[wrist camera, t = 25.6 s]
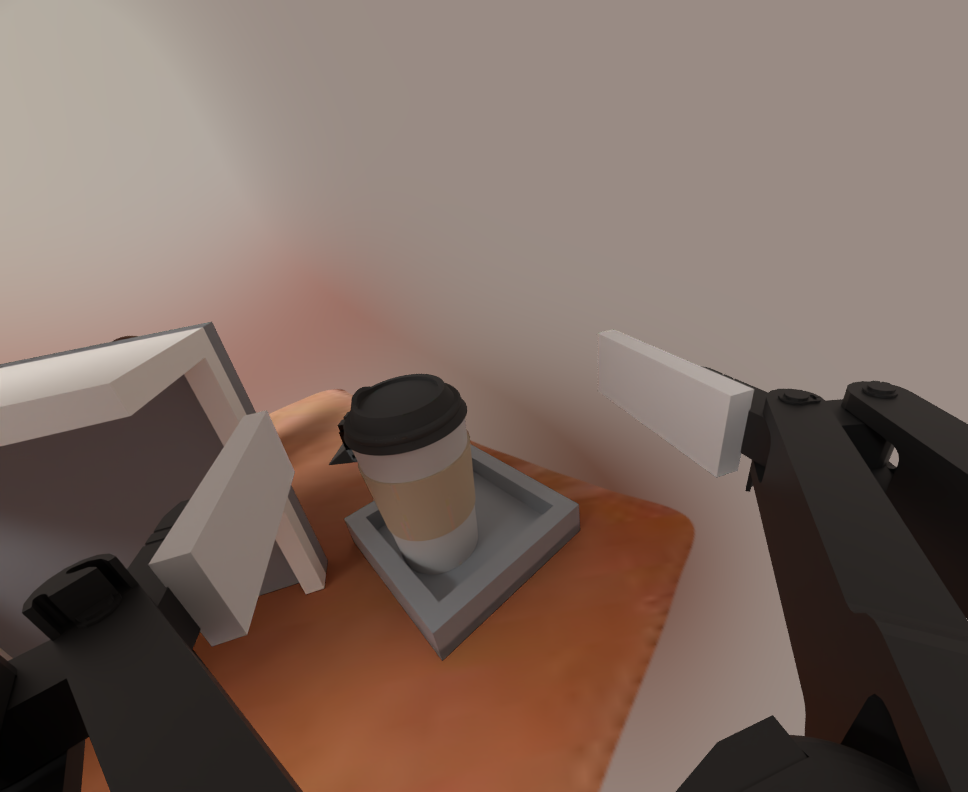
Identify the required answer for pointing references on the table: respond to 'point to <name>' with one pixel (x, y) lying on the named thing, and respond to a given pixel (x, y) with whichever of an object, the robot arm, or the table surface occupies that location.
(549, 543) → the tray
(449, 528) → the coffee cup
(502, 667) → the table surface
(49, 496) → the cubby
